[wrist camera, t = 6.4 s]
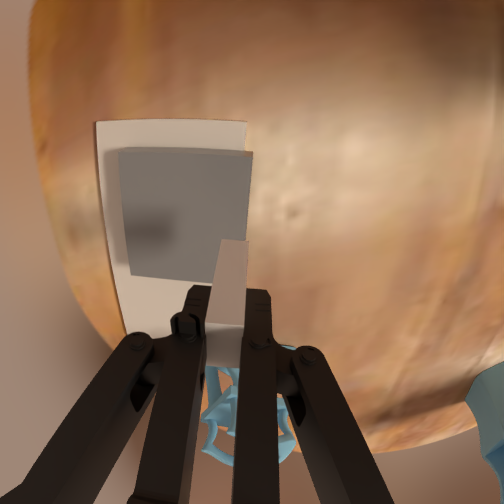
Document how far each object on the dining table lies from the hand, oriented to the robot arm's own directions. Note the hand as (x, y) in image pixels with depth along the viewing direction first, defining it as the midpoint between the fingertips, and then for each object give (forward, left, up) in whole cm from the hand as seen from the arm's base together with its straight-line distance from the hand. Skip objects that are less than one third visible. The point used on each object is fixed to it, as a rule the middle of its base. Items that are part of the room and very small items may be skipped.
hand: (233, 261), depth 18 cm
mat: (+4, -5, -6) cm, 9 cm away
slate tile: (0, +1, -5) cm, 5 cm away
